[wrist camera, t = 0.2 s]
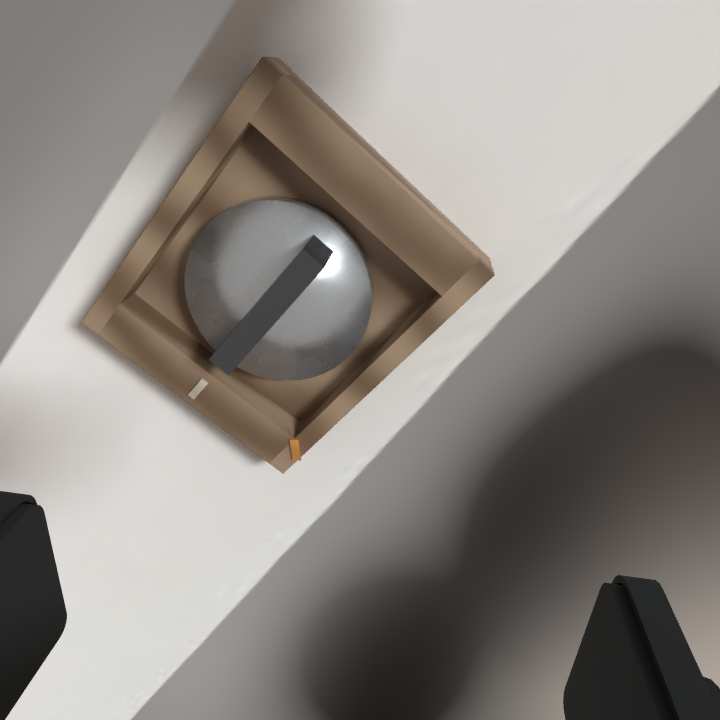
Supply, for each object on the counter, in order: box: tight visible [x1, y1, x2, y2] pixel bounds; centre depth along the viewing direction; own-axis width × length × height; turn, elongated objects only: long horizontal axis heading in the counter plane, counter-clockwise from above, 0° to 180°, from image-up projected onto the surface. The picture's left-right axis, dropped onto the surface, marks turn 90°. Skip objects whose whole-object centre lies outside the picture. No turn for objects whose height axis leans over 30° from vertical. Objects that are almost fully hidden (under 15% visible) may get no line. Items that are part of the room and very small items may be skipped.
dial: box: [185, 196, 373, 381], centre depth 41 cm, size 14×14×5 cm
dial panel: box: [82, 57, 494, 473], centre depth 43 cm, size 24×20×4 cm
